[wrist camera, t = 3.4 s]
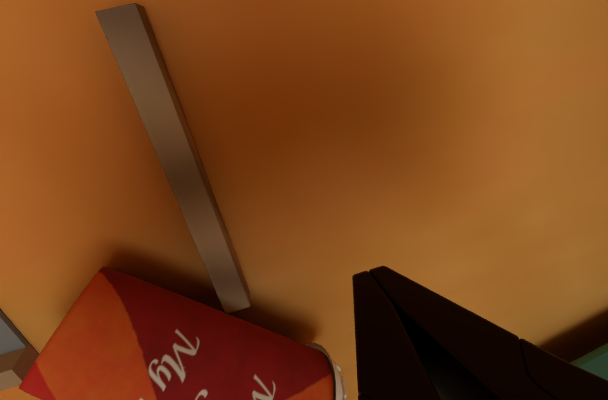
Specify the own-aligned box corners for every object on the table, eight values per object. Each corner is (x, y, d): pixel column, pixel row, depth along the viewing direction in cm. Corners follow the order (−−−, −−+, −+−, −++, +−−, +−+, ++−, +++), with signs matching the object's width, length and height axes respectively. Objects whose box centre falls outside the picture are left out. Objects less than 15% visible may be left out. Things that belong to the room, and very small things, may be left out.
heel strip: (248, 290, 21) (250, 306, 20) (225, 297, 21) (225, 314, 20) (143, 6, 14) (134, 2, 13) (107, 14, 14) (95, 11, 13)
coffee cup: (46, 335, 11) (372, 458, 16) (135, 219, 19) (340, 326, 23) (-32, 464, 14) (271, 537, 18) (75, 316, 21) (271, 395, 26)
